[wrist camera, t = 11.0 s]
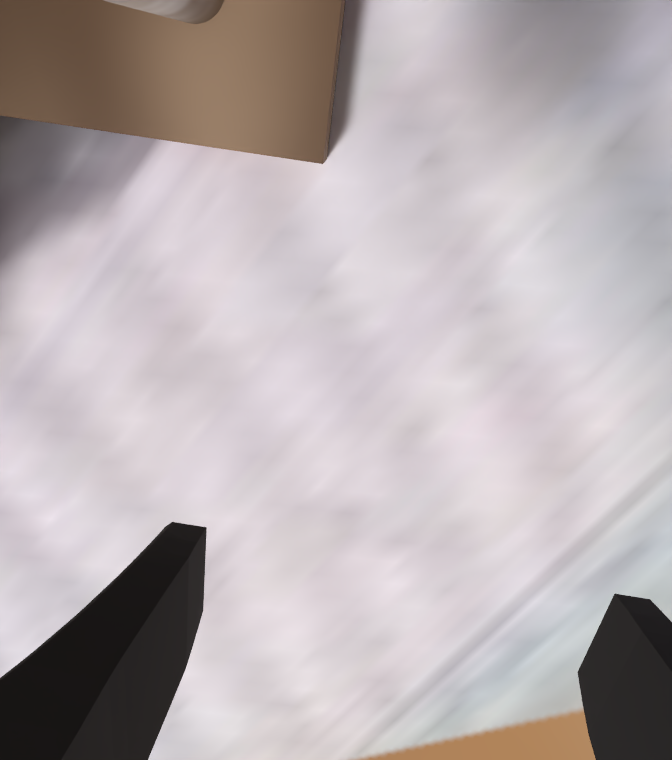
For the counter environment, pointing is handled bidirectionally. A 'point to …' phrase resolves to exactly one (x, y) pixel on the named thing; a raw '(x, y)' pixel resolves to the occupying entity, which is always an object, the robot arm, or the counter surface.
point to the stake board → (177, 70)
